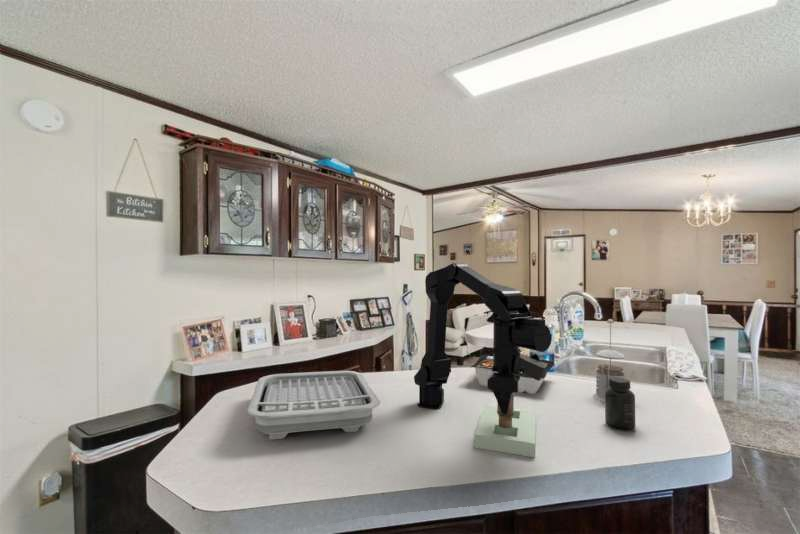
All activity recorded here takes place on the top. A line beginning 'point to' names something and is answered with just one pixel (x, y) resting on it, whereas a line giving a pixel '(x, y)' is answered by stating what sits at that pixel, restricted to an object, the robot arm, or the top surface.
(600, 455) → the top surface
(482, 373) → the food packaging
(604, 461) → the top surface
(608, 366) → the french press
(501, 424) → the peg
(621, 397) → the supplement bottle
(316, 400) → the dish rack
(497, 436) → the board
